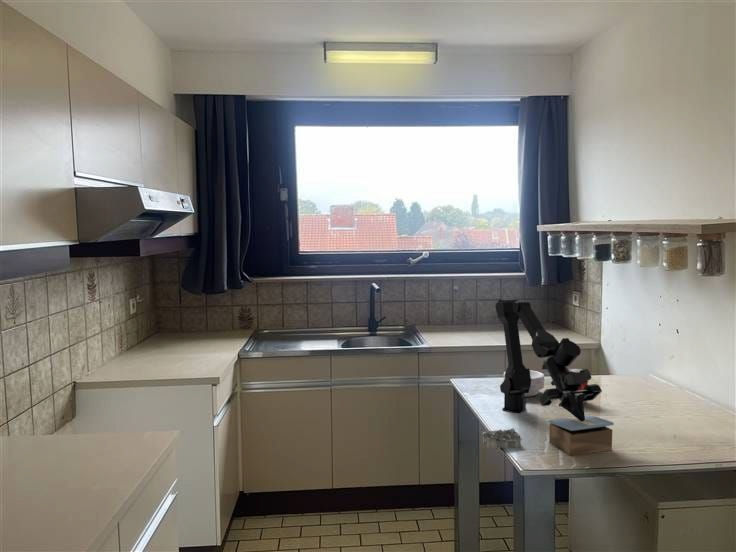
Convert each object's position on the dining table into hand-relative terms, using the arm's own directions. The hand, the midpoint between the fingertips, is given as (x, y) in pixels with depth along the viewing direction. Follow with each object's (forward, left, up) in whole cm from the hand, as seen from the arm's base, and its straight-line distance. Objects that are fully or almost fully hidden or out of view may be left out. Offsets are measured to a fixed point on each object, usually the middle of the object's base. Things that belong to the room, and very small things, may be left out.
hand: (583, 420), depth 163 cm
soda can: (-14, +43, -8) cm, 46 cm away
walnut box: (-1, +1, -8) cm, 8 cm away
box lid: (-1, +1, -1) cm, 2 cm away
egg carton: (-20, -11, -9) cm, 25 cm away
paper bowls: (-34, +42, -8) cm, 55 cm away
